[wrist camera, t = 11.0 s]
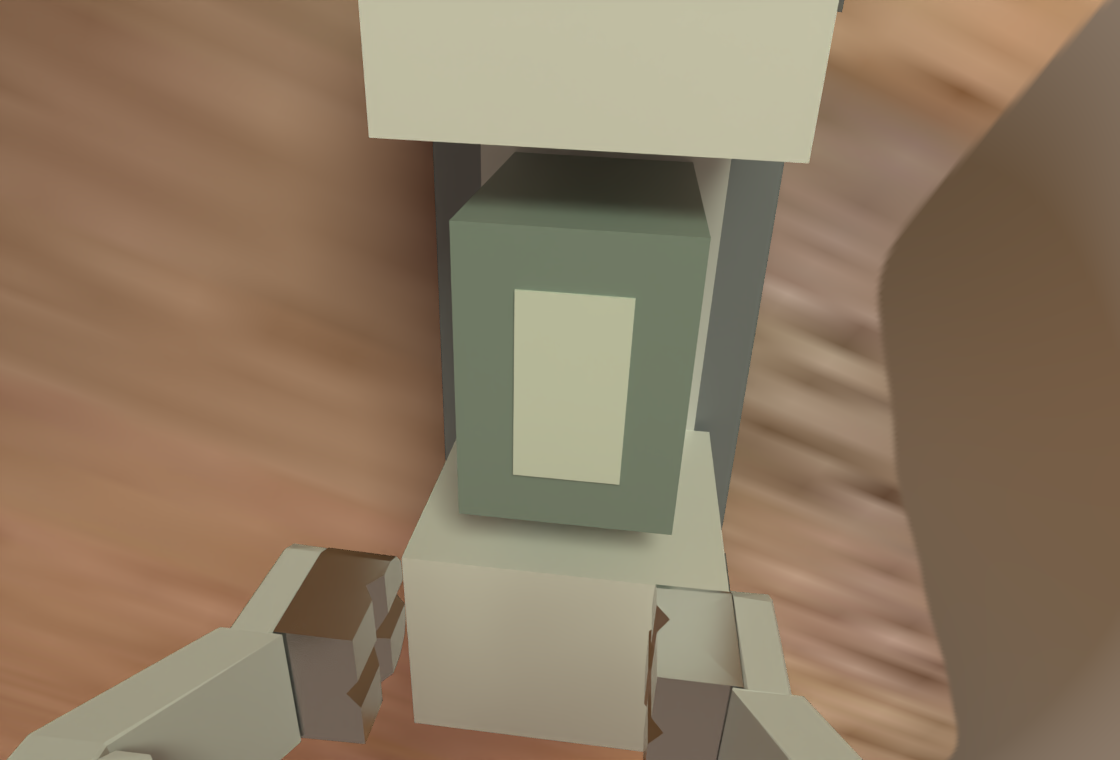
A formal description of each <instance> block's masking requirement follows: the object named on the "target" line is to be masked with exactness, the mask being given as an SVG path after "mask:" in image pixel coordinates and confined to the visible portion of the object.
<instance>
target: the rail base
mask: <svg viewBox="0 0 1120 760" xmlns="http://www.w3.org/2000/svg"><path fill="white" fill-rule="evenodd" d="M358 3H359V16H360V29H361V42H362V55H363V67H364V80H365V93H366V106H367V119H368V132H369V138H384V139H401V140H418V141H433V160H434V185H435V210H436V235H437V260H438V285H439V310H440V335H441V359H442V384H443V409H444V434H445V459H446V462H445V465H444V467H443V469H442V471H441V473H440V475H439V478H438V480H437V482H436V484H435V486H434V488H433V491H432V493H431V495H430V497H429V499H428V502H427V504H426V506H425V508H424V510H423V512H422V515H421V517H420V519H419V521H418V523H417V525H416V528H415V530H414V532H413V534H412V536H411V539H410V541H409V543H408V545H407V547H406V549H405V552H404V554H403V556H402V569H403V582H404V594H405V607H406V620H407V633H408V646H409V659H410V672H411V684H412V697H413V710H414V723H420V724H428V725H436V726H444V727H452V728H460V729H468V730H476V731H483V732H491V733H499V734H507V735H515V736H523V737H531V738H539V739H546V740H554V741H562V742H570V743H578V744H586V745H594V746H602V747H609V748H617V749H625V750H633V751H641V752H643V742H644V725H645V717H646V709H647V707H646V706H645V704H644V687H645V666H646V655H647V645H648V635H649V631H650V630H651V629H652V602H653V595H654V589H655V584H657V585H667V586H677V587H687V588H697V589H707V590H717V591H727V592H729V593H730V585H729V577H728V569H727V561H726V553H724V546H723V538H722V525H723V519H724V514H725V508H726V502H727V496H728V490H729V484H730V478H731V472H732V467H733V461H734V455H735V449H736V443H737V437H738V431H739V425H740V419H741V414H742V408H743V402H744V396H745V390H746V384H747V378H748V372H749V367H750V361H751V355H752V349H753V343H754V337H755V331H756V325H757V320H758V314H759V308H760V302H761V296H762V290H763V284H764V278H765V273H766V267H767V261H768V255H769V249H770V243H771V237H772V231H773V226H774V220H775V214H776V208H777V202H778V196H779V190H780V184H781V178H782V173H783V167H784V162H796V163H809V160H810V154H811V149H812V144H813V138H814V133H815V127H816V122H817V117H818V111H819V106H820V100H821V95H822V90H823V84H824V79H825V73H826V68H827V62H828V57H829V52H830V46H831V41H832V35H833V30H834V25H835V19H836V14H837V12H842V9H843V4H844V0H358ZM514 152H523V153H540V154H557V155H574V156H591V157H608V158H625V159H642V160H660V161H677V162H693V164H694V168H695V173H696V177H697V181H698V185H699V190H700V194H701V198H702V202H703V207H704V211H705V215H706V219H707V224H708V228H709V232H710V236H711V241H710V249H709V256H708V264H707V272H706V279H705V287H704V294H703V302H702V310H701V317H700V325H699V332H698V340H697V348H696V355H695V363H694V370H693V378H692V386H691V393H690V401H689V408H688V416H687V424H686V431H685V439H684V446H683V454H682V462H681V469H680V477H679V484H678V492H677V499H676V507H675V515H674V522H673V530H672V535H666V534H656V533H646V532H636V531H626V530H617V529H607V528H597V527H587V526H577V525H567V524H557V523H547V522H538V521H528V520H518V519H508V518H498V517H488V516H478V515H469V514H459V506H458V476H457V445H456V414H455V383H454V352H453V321H452V290H451V259H450V228H449V220H450V219H451V218H452V217H453V216H454V215H455V214H456V213H457V212H458V211H459V210H460V209H461V208H462V207H463V206H464V205H465V204H466V203H467V201H468V200H469V199H470V198H471V197H472V196H473V195H474V194H475V193H476V192H477V191H478V190H479V189H480V188H481V187H482V186H483V185H484V184H485V183H486V182H487V181H488V180H489V178H490V177H491V176H492V175H493V174H494V173H495V172H496V171H497V170H498V169H499V168H500V167H501V166H502V165H503V164H504V163H505V162H506V161H507V160H508V159H509V158H510V156H511V155H512V154H513V153H514Z"/></svg>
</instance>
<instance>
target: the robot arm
mask: <svg viewBox="0 0 1120 760" xmlns="http://www.w3.org/2000/svg"><path fill="white" fill-rule="evenodd" d="M402 580H403V576H402V567H401V560H400V559H399V558H397V557H396V556H389V555H381V554H374V553H366V552H359V551H351V550H343V549H336V548H322V547H315V546H308V545H300V544H293V545H291V546H289V547H287V548H286V549H285V550H284V551H283V552H282V554H281V555H280V557H279V558H278V560H277V561H276V562H275V564H274V565H273V567H272V568H271V570H270V571H269V573H268V574H267V576H266V577H265V578H264V580H263V581H262V583H261V584H260V586H259V587H258V589H257V590H256V591H255V593H254V594H253V596H252V597H251V599H250V600H249V602H248V603H247V605H246V606H245V607H244V609H243V610H242V612H241V613H240V615H239V616H238V618H237V619H236V621H235V622H234V623H233V625H232V626H231V628H222V627H219V628H217V629H215V630H214V631H212V632H210V633H208V634H206V635H205V636H203V637H201V638H199V639H198V640H196V641H194V642H192V643H190V644H189V645H187V646H185V647H183V648H182V649H180V650H178V651H176V652H174V653H173V654H171V655H169V656H167V657H166V658H164V659H162V660H160V661H158V662H157V663H155V664H153V665H151V666H150V667H148V668H146V669H144V670H142V671H141V672H139V673H137V674H135V675H134V676H132V677H130V678H128V679H126V680H125V681H123V682H121V683H119V684H118V685H116V686H114V687H112V688H110V689H109V690H107V691H105V692H103V693H102V694H100V695H98V696H96V697H94V698H93V699H91V700H89V701H87V702H86V703H84V704H82V705H80V706H78V707H77V708H75V709H73V710H71V711H70V712H68V713H66V714H64V715H62V716H61V717H59V718H57V719H55V720H54V721H52V722H50V723H48V724H46V725H45V726H43V727H41V728H39V729H38V730H36V731H34V732H32V733H30V734H29V735H28V736H27V737H26V738H25V739H24V740H23V741H22V743H21V744H20V745H19V746H18V747H17V748H16V750H15V751H14V752H13V753H12V754H11V755H10V756H9V758H8V759H7V760H281V759H282V758H283V757H284V756H285V755H287V754H288V753H289V752H290V751H291V750H292V749H293V748H294V747H296V746H297V745H298V744H299V743H300V742H301V738H311V739H321V740H331V741H341V742H351V743H361V744H365V743H366V741H367V738H368V736H369V733H370V731H371V728H372V726H373V723H374V721H375V718H376V716H377V713H378V711H379V708H380V706H381V703H382V701H383V700H382V689H381V682H382V681H383V680H385V679H386V678H387V677H389V676H390V675H392V674H393V673H394V670H395V667H396V665H397V662H398V659H399V657H400V653H401V648H402V644H403V639H404V634H405V620H406V615H405V604H404V602H403V601H402V600H401V599H400V598H399V597H398V595H397V592H398V589H399V587H400V585H401V582H402ZM644 704H645V706H646V707H647V709H646V717H645V725H644V742H643V760H863V759H862V758H861V757H860V756H859V755H858V754H857V753H856V752H855V751H854V750H853V749H852V748H851V747H850V746H849V744H848V743H847V742H846V741H845V740H844V739H843V738H842V737H841V736H840V735H839V734H838V733H837V732H836V731H835V729H834V728H833V727H832V726H831V725H830V724H829V723H828V722H827V721H826V720H825V719H824V718H823V717H822V716H821V715H820V713H819V712H818V711H817V710H816V709H815V708H814V707H813V706H812V705H811V704H810V703H809V702H808V701H807V700H806V698H805V697H803V696H796V695H792V694H791V689H790V684H789V679H788V674H787V669H786V665H785V660H784V655H783V650H782V645H781V640H780V635H779V630H778V625H777V620H776V615H775V610H774V605H773V600H772V599H771V598H770V596H769V595H767V594H756V593H745V592H733V591H731V592H730V593H729V592H727V591H717V590H707V589H697V588H687V587H677V586H667V585H657V584H655V589H654V595H653V602H652V629H651V630H650V631H649V635H648V645H647V655H646V666H645V687H644Z"/></svg>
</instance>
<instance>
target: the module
mask: <svg viewBox="0 0 1120 760" xmlns="http://www.w3.org/2000/svg"><path fill="white" fill-rule="evenodd" d="M449 228H450V259H451V290H452V321H453V352H454V383H455V414H456V445H457V476H458V506H459V514H469V515H478V516H488V517H498V518H508V519H518V520H528V521H538V522H547V523H557V524H567V525H577V526H587V527H597V528H607V529H617V530H626V531H636V532H646V533H656V534H666V535H672V530H673V522H674V515H675V507H676V499H677V492H678V484H679V477H680V469H681V462H682V454H683V446H684V439H685V431H686V424H687V416H688V408H689V401H690V393H691V386H692V378H693V370H694V363H695V355H696V348H697V340H698V332H699V325H700V317H701V310H702V302H703V294H704V287H705V279H706V272H707V264H708V256H709V249H710V241H711V236H710V232H709V228H708V224H707V219H706V215H705V211H704V207H703V202H702V198H701V194H700V190H699V185H698V181H697V177H696V173H695V168H694V164H693V162H677V161H660V160H642V159H625V158H608V157H591V156H574V155H557V154H540V153H523V152H514V153H513V154H512V155H511V156H510V158H509V159H508V160H507V161H506V162H505V163H504V164H503V165H502V166H501V167H500V168H499V169H498V170H497V171H496V172H495V173H494V174H493V175H492V176H491V177H490V178H489V180H488V181H487V182H486V183H485V184H484V185H483V186H482V187H481V188H480V189H479V190H478V191H477V192H476V193H475V194H474V195H473V196H472V197H471V198H470V199H469V200H468V201H467V203H466V204H465V205H464V206H463V207H462V208H461V209H460V210H459V211H458V212H457V213H456V214H455V215H454V216H453V217H452V218H451V219H450V220H449Z"/></svg>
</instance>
